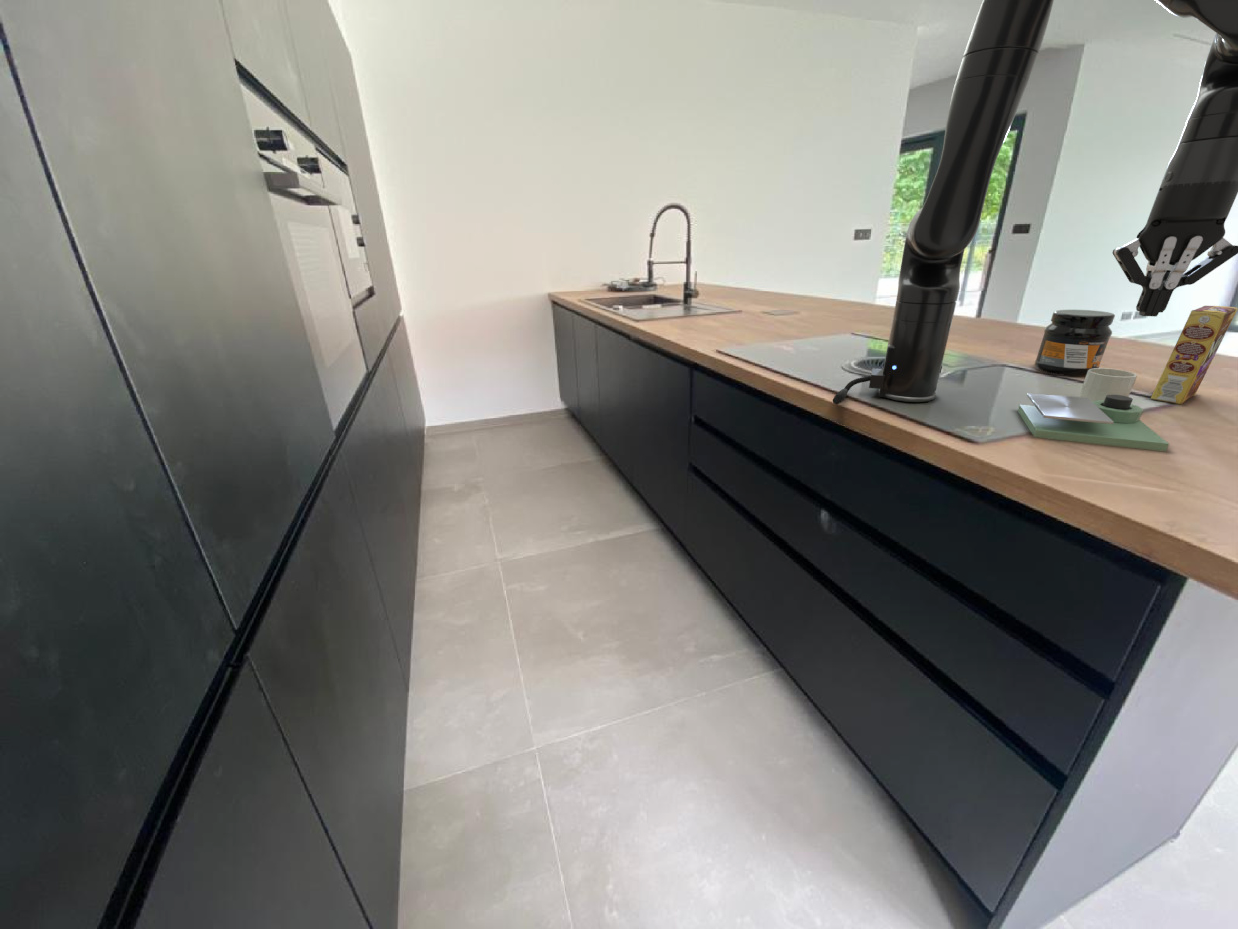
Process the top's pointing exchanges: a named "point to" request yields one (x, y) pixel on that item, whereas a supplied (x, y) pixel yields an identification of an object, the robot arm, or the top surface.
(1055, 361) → the supplement container
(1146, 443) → the scale
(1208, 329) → the candy box
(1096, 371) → the white cup
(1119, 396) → the tare button
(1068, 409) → the scale pan
